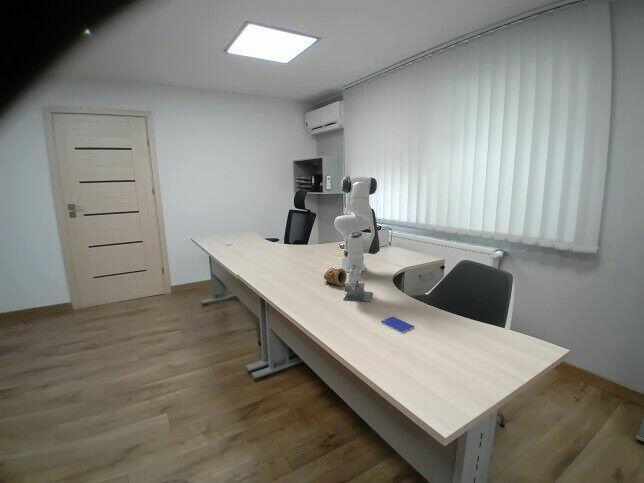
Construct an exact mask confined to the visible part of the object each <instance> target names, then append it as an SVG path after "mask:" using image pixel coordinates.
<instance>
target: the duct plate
mask: <svg viewBox="0 0 644 483" xmlns="http://www.w3.org/2000/svg"><path fill="white" fill-rule="evenodd" d="M372 296H373V291H365V290H364V296H363V298H358V297H352V292H346V293H345V296H344V297H343V301H350V302H361V303H362V302H363V303H370V302H371V299H372Z"/></svg>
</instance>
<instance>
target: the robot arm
mask: <svg viewBox="0 0 644 483" xmlns="http://www.w3.org/2000/svg"><path fill="white" fill-rule="evenodd" d="M340 182H341V183H340V187H341V191H342V192H343V193H344V194H347V200H346V208H347V209H346V210H348V211H349V212H350V213H352V214H344V215H340V216H336V217H335V219H334V222H333V225H334V228H335V229H336V230H337V232H339V233H340V234H341V235H342V238H343V242H344V243H343V244H344V250H343V256H342V257H341V266H339V268H338V269H340V268H342V269H344V270H345V271H346V273H348V283H349V284H351V285H352V290H355V289H356V286H355V284H356V283H359V279H360V277H361V274H362V272H364V271H365V272H366V271H367V269H366V264H365V262H364V260H365V259H364V254H369V255H377V254H378V253H379V252H380V251H381V240H380V237H379V229H378V223H377V217H376V213H375V212H376V211H375V209H374V208H372V207H371V204H370V195H374V194H375V193H376V191H377V189H378V182H377V179H376V178H374V177H369V176H363V175H360V176H359V175H358V176H357V175H355V176H354V175H353V176H350V175H346V176H344V177H342V179H341V181H340ZM368 229H370V235H367V236H366V235H363V233H361V232H359V231H364V230H368Z"/></svg>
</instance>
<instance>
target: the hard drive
mask: <svg viewBox="0 0 644 483" xmlns="http://www.w3.org/2000/svg"><path fill="white" fill-rule="evenodd" d="M380 324H382V325H383V326H384V325H385V326H387V327H388V328H391V329H392V330H395V331H397V332H399V333H400V334H403V333H406V332H408V331H410V330H413V329H414V328H415V325H412V324H410V323H408V322H406V321H403V320H401V319H399V318H397V317H395V316H390V317H387V318H386V319H385V318H384V319H383V320H381V321H380Z"/></svg>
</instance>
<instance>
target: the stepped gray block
mask: <svg viewBox="0 0 644 483" xmlns="http://www.w3.org/2000/svg"><path fill="white" fill-rule="evenodd" d="M355 286H356V289H355V290H352V285H351V284H349V282H345V283H344V292H345V293H347V292H352V297H358V298H363V296H364V291H365V282H364V283H363V282H358V283H356V284H355Z"/></svg>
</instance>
